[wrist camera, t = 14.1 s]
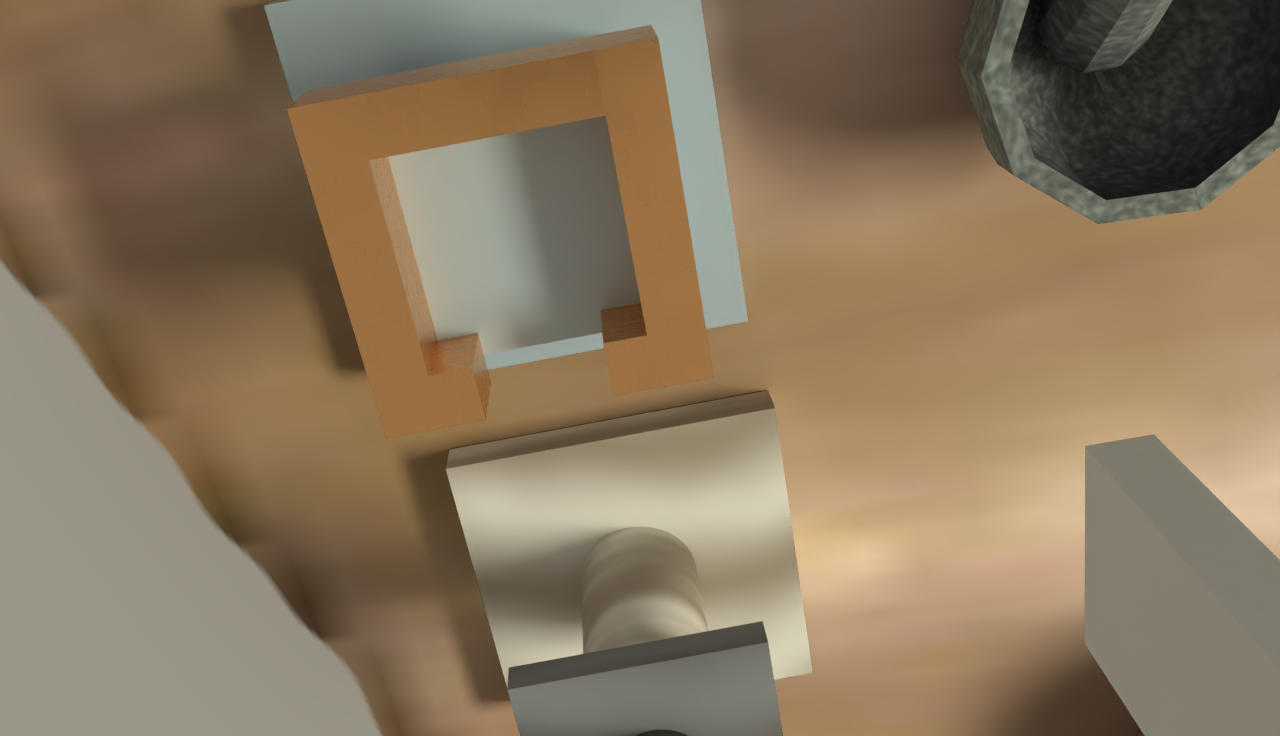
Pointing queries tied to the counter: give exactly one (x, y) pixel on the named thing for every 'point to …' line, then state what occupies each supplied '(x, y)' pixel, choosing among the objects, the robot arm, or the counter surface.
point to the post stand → (639, 571)
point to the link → (477, 109)
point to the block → (527, 168)
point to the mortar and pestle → (1126, 97)
